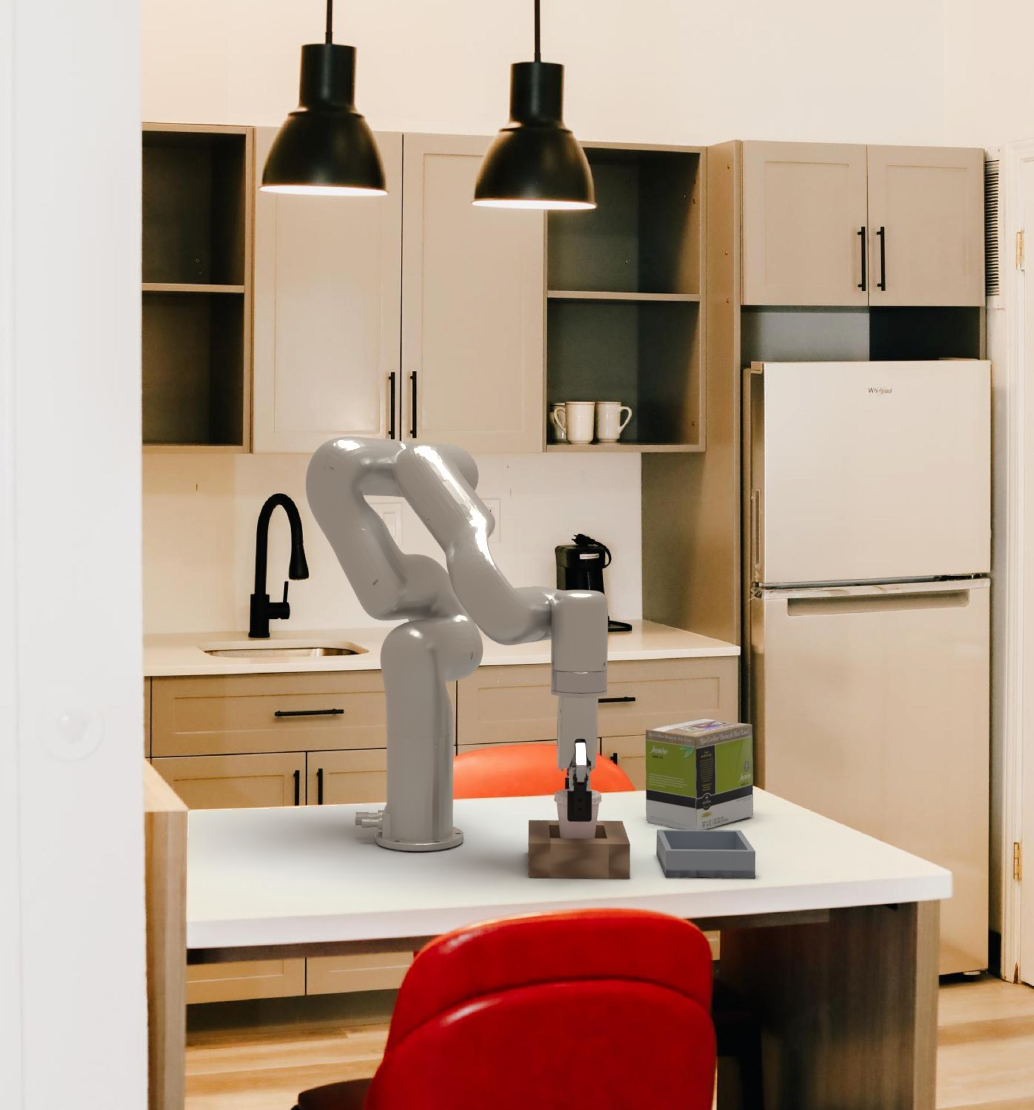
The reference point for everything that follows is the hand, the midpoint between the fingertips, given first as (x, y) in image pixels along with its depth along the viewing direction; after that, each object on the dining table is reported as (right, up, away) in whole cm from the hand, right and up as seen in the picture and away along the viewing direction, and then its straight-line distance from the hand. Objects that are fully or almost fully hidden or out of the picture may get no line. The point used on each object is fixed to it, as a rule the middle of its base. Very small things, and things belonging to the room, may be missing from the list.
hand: (577, 813), depth 180 cm
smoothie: (0, -7, 0) cm, 7 cm away
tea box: (+20, -7, +27) cm, 34 cm away
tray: (+17, -7, 0) cm, 18 cm away
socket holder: (0, -7, 0) cm, 7 cm away
